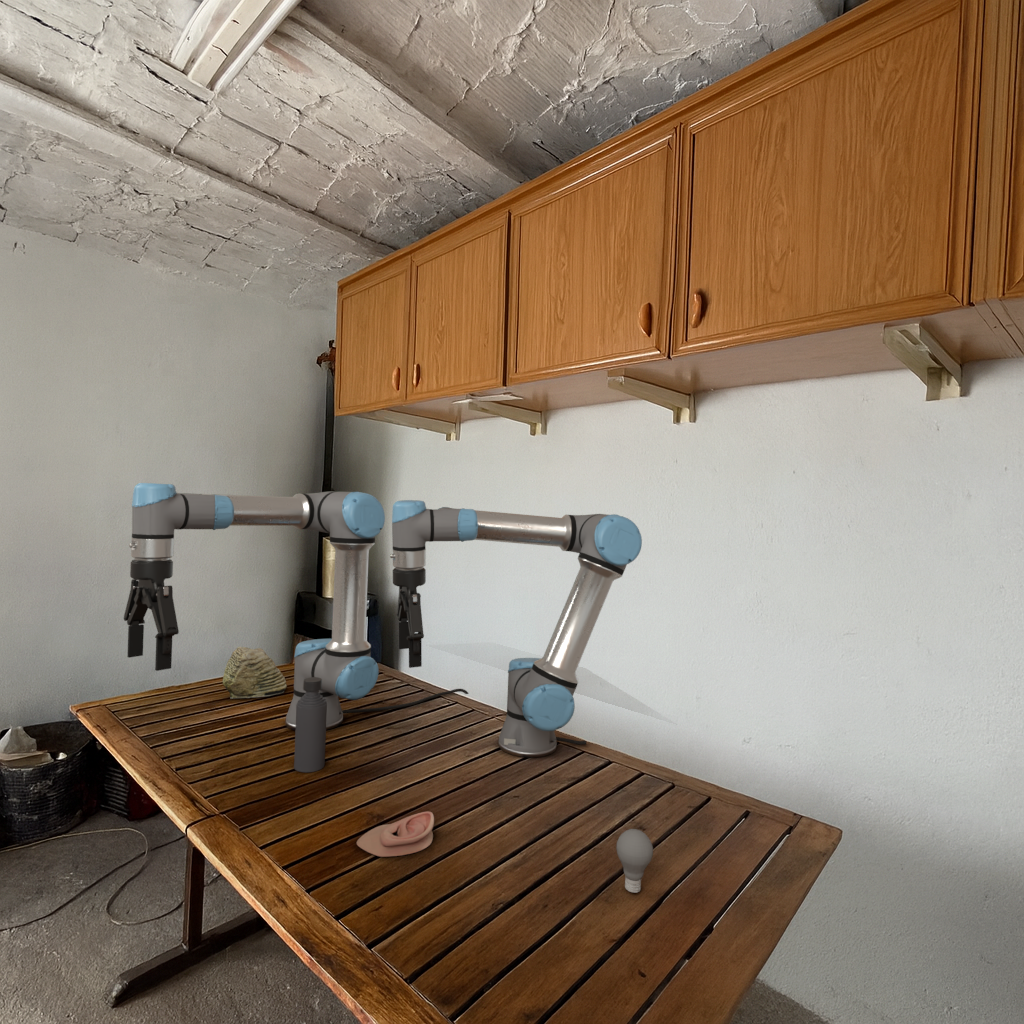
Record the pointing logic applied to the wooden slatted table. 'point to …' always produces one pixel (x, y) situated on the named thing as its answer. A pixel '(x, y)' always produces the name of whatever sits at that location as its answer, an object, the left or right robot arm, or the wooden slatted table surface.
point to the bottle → (310, 732)
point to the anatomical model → (399, 836)
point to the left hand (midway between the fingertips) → (148, 662)
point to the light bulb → (634, 857)
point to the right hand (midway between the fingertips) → (409, 657)
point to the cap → (312, 684)
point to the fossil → (252, 674)
